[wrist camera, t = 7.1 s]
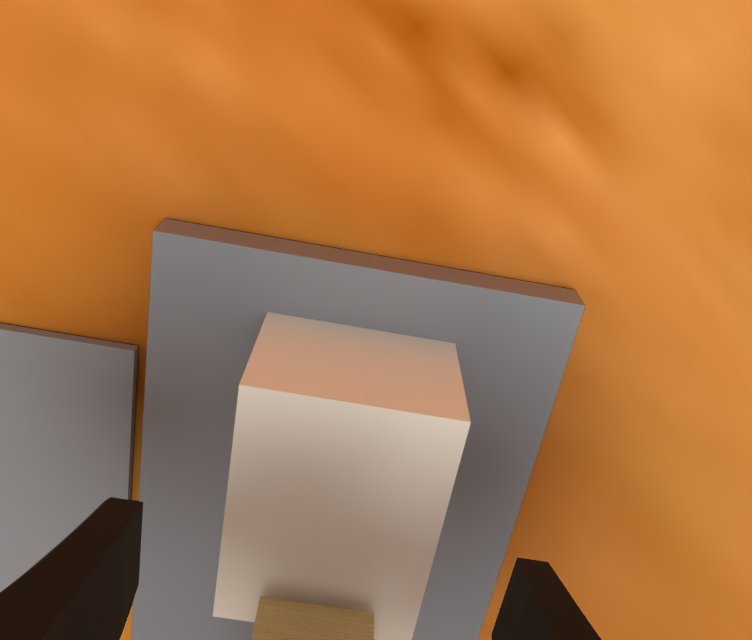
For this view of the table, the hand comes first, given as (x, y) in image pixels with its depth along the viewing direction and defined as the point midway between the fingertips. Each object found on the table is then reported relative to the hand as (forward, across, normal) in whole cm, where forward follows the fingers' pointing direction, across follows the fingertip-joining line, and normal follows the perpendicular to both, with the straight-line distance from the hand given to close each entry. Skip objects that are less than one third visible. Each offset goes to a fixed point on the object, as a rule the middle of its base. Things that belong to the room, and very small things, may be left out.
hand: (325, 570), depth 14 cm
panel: (+6, 0, +3) cm, 6 cm away
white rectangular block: (+5, 0, 0) cm, 5 cm away
